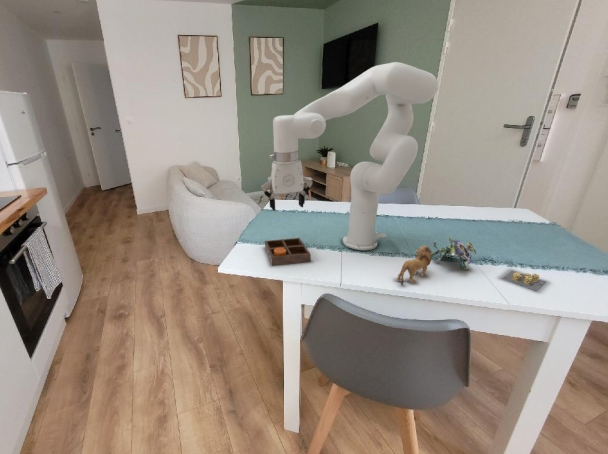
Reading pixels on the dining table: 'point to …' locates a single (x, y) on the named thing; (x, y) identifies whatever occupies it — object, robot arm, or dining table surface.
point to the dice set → (525, 280)
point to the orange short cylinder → (279, 252)
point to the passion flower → (457, 252)
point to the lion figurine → (416, 264)
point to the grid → (287, 251)
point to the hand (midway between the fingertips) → (287, 207)
